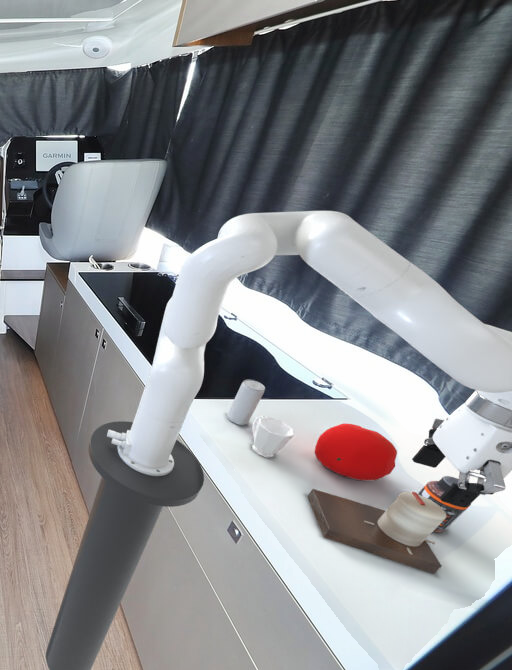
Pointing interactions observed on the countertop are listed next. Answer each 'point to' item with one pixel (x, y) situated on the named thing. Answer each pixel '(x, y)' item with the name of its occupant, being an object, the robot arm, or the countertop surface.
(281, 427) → the cup
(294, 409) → the countertop surface
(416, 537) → the cream dial knob
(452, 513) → the supplement bottle
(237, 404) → the beverage can
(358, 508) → the dial plaque
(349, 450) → the tomato
